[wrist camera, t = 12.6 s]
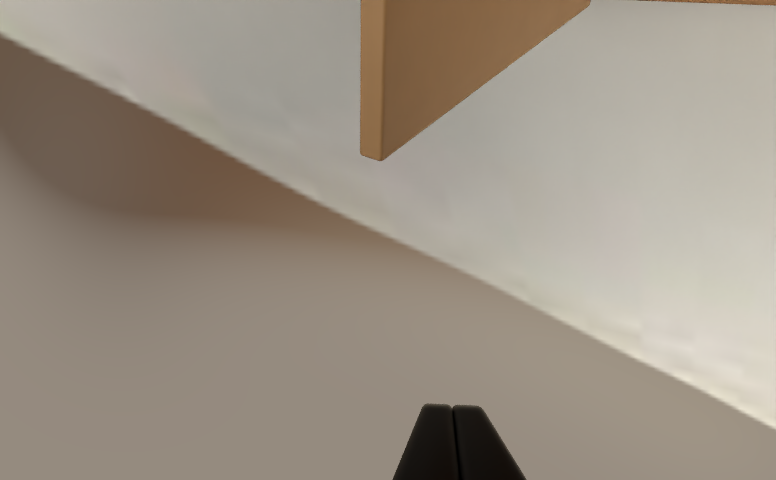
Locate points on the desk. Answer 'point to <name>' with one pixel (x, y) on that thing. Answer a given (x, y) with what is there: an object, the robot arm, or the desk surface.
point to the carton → (725, 1)
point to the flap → (440, 57)
